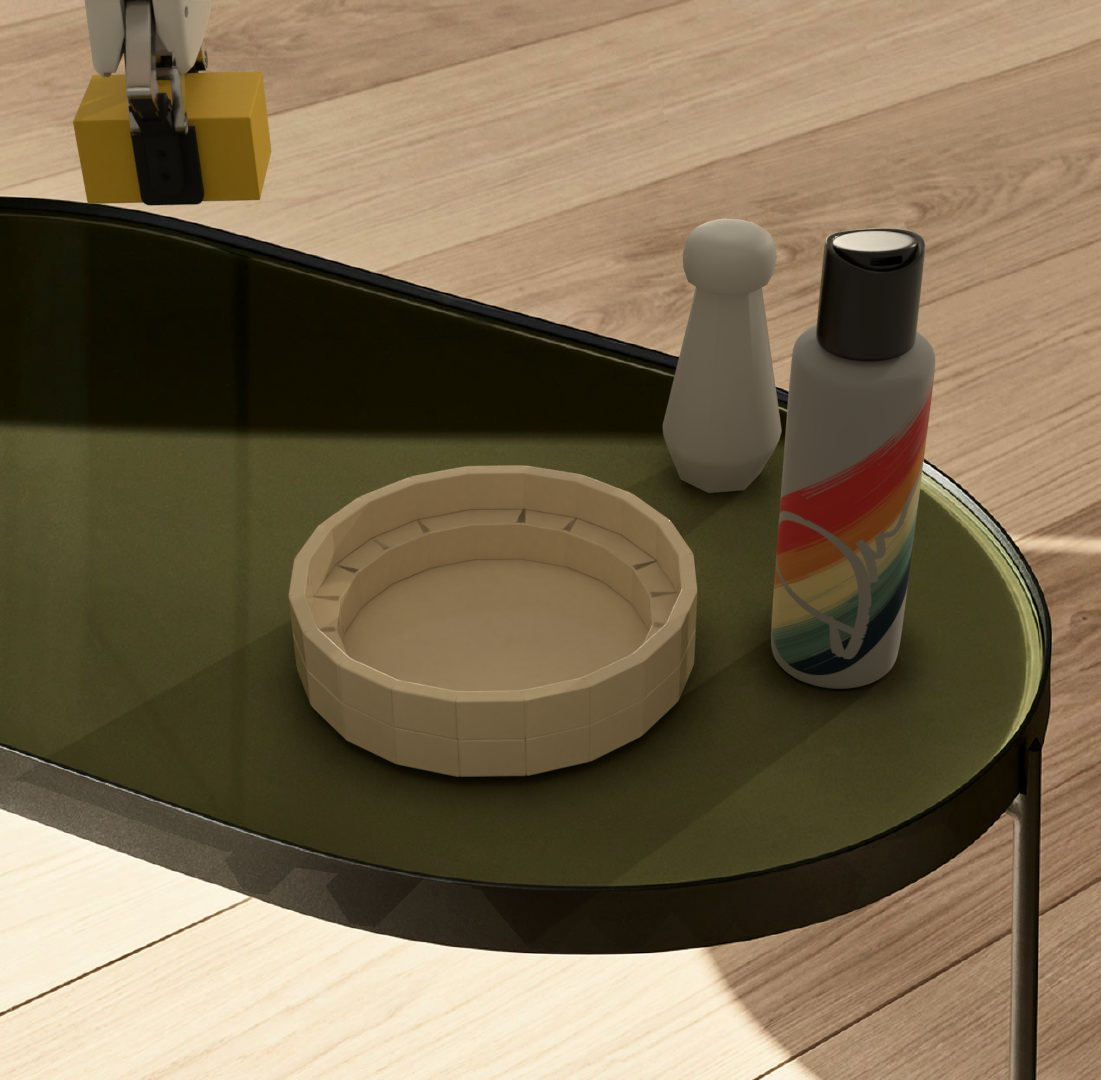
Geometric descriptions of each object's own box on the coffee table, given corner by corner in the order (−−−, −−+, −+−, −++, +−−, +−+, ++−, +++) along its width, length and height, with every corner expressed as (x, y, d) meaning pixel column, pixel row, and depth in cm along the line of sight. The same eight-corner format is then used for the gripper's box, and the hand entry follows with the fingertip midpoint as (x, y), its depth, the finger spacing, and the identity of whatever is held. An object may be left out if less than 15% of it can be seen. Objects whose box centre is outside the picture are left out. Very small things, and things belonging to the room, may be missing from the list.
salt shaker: (748, 431, 103) (762, 195, 95) (797, 488, 99) (816, 246, 90) (643, 454, 101) (648, 215, 93) (688, 512, 97) (698, 268, 89)
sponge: (87, 204, 104) (72, 121, 101) (106, 155, 108) (92, 74, 105) (260, 200, 104) (250, 117, 101) (271, 152, 108) (262, 70, 105)
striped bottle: (787, 698, 86) (822, 274, 73) (756, 621, 90) (784, 208, 78) (914, 684, 87) (971, 262, 74) (877, 608, 91) (925, 196, 78)
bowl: (281, 789, 82) (270, 704, 79) (316, 547, 95) (308, 467, 92) (705, 783, 82) (709, 698, 79) (680, 543, 95) (683, 462, 92)
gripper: (81, -235, 101) (136, 110, 112) (14, -127, 88) (84, 251, 99) (230, -238, 101) (269, 107, 112) (184, -130, 88) (234, 248, 99)
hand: (182, 171), depth 106 cm, fingers closed on sponge, 6 cm apart
